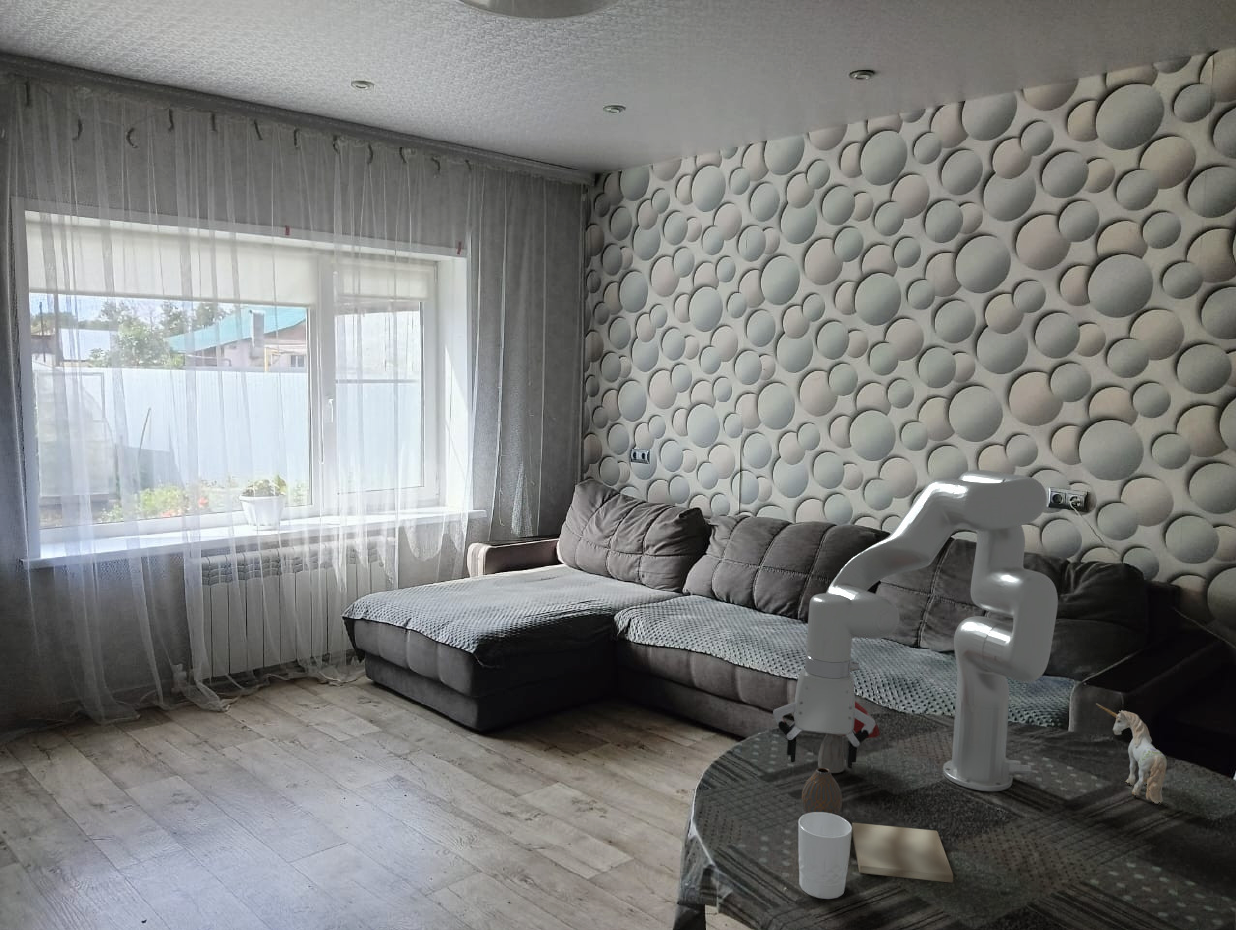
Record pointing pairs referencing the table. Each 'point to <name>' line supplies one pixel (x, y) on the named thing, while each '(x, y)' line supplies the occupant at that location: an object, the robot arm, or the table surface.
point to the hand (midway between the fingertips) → (820, 762)
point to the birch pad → (900, 852)
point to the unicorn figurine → (1141, 755)
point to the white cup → (823, 854)
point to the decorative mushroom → (840, 745)
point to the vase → (821, 793)
